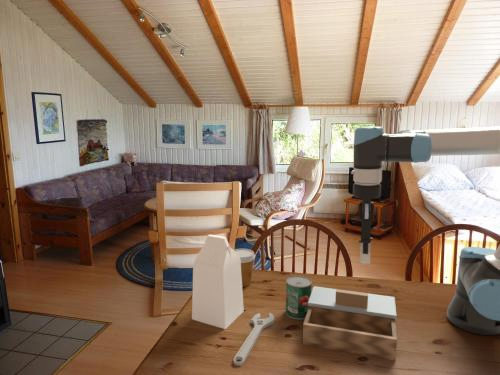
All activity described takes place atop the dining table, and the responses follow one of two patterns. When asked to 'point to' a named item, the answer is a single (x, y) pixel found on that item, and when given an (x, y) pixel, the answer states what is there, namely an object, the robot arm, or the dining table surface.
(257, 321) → the adjustable wrench
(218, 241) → the milk
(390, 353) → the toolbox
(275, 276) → the dining table surface
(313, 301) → the lid
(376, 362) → the dining table surface
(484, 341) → the dining table surface
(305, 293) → the canned tomato
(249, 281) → the disposable coffee cup
